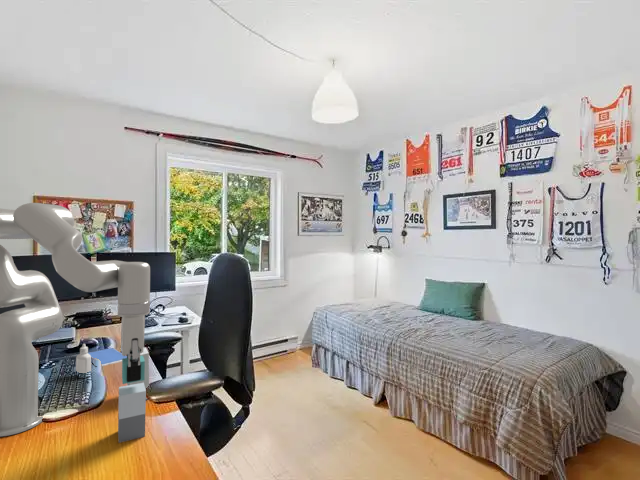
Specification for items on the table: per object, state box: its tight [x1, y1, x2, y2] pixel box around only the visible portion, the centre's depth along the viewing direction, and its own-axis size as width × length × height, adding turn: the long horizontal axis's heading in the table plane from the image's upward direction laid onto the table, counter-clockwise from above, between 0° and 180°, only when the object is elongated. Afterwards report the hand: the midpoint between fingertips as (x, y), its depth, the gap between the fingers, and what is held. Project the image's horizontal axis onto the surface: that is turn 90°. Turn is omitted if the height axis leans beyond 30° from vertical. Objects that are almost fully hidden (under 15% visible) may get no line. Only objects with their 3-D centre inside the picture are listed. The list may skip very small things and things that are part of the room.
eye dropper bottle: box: [75, 343, 92, 373], centre depth 128 cm, size 4×6×12 cm
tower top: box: [117, 383, 147, 419], centre depth 92 cm, size 6×6×6 cm
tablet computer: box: [88, 347, 127, 367], centre depth 148 cm, size 19×13×1 cm, turn 50°
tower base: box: [117, 410, 146, 444], centre depth 92 cm, size 6×6×6 cm
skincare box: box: [126, 346, 150, 400], centre depth 114 cm, size 8×6×15 cm
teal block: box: [121, 356, 145, 385], centre depth 92 cm, size 5×5×5 cm
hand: (133, 376), depth 92 cm, fingers closed on teal block, 4 cm apart
